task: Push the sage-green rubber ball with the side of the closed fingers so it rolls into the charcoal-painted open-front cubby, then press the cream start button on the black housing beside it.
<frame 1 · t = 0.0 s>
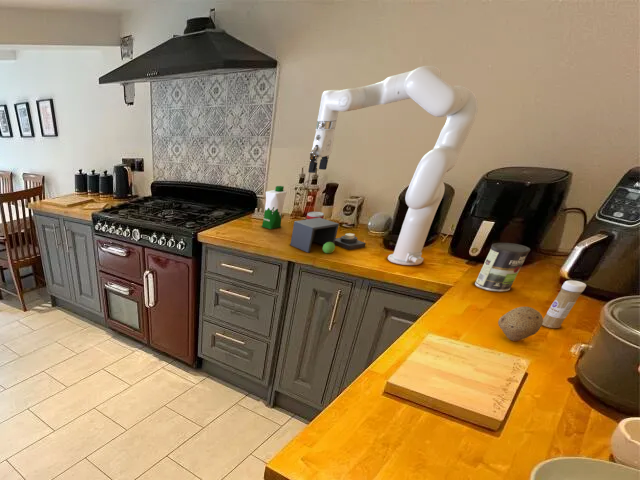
hand: (317, 170, 183), 31 cm above the counter, tool pointing down, fingers open, 9 cm apart
start button: (349, 236, 191), point 4 cm above the counter, slide at 0.1 cm
coffee can: (491, 286, 148), on the counter
button housing: (347, 245, 193), on the counter
potato: (510, 339, 118), on the counter
ball: (328, 247, 184), point 2 cm above the counter
milk carton: (270, 227, 225), on the counter
canned food: (311, 236, 207), on the counter
sprinkles bottle: (549, 326, 123), on the counter
cubby: (311, 246, 194), on the counter
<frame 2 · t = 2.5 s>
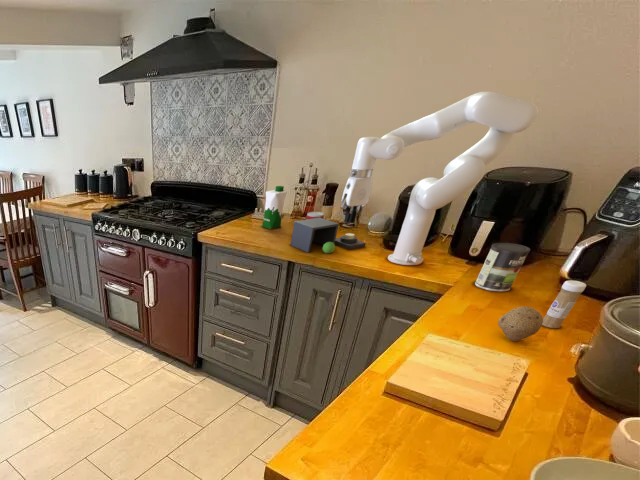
hand: (349, 222, 170), 15 cm above the counter, tool pointing down, fingers closed
nothing on the counter moved.
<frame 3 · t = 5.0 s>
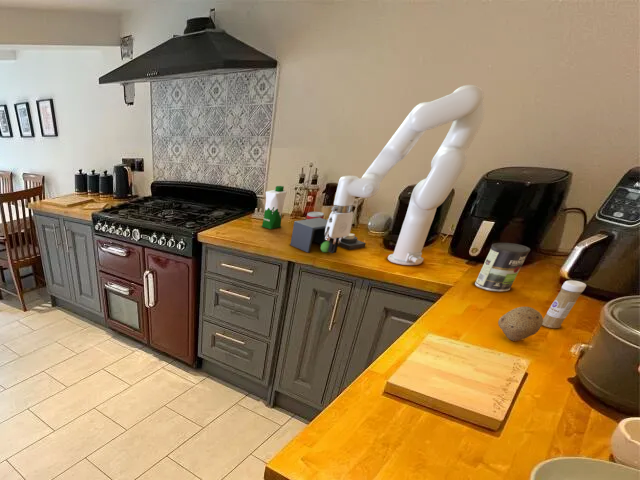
hand: (332, 252, 183), 1 cm above the counter, tool pointing down, fingers closed
ball: (326, 246, 185), point 2 cm above the counter, tilted 17°, touching gripper
everything else where it was.
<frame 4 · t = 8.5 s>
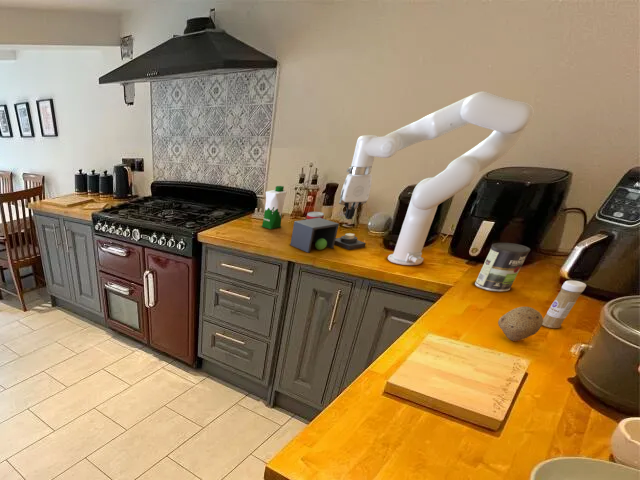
hand: (348, 218, 176), 15 cm above the counter, tool pointing down, fingers closed
ball: (320, 244, 189), point 2 cm above the counter, tilted 90°
everything else where it was.
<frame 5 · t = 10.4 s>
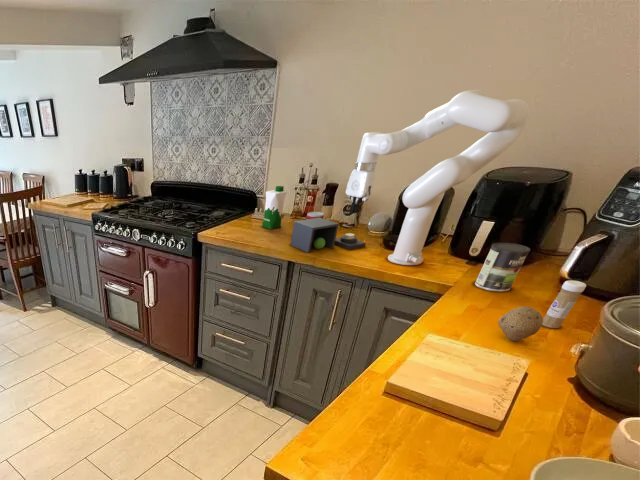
hand: (353, 212, 182), 15 cm above the counter, tool pointing down, fingers closed
ball: (319, 243, 190), point 2 cm above the counter, tilted 121°
everything else where it was.
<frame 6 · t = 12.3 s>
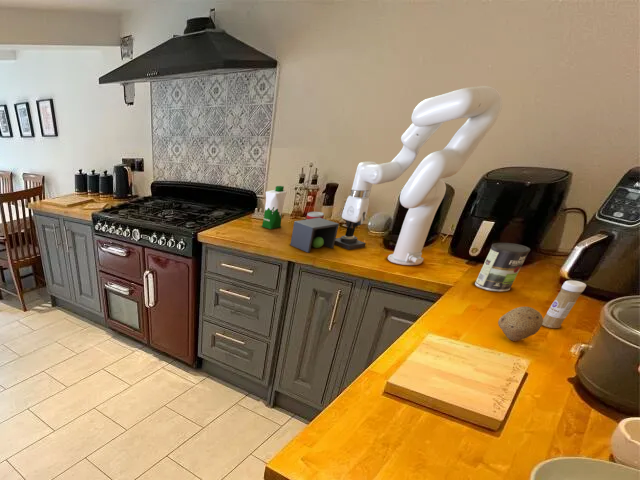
hand: (349, 235, 191), 4 cm above the counter, tool pointing down, fingers closed
start button: (349, 238, 191), point 3 cm above the counter, slide at -0.6 cm, touching gripper
ball: (317, 242, 191), point 2 cm above the counter, tilted 152°
everything else where it was.
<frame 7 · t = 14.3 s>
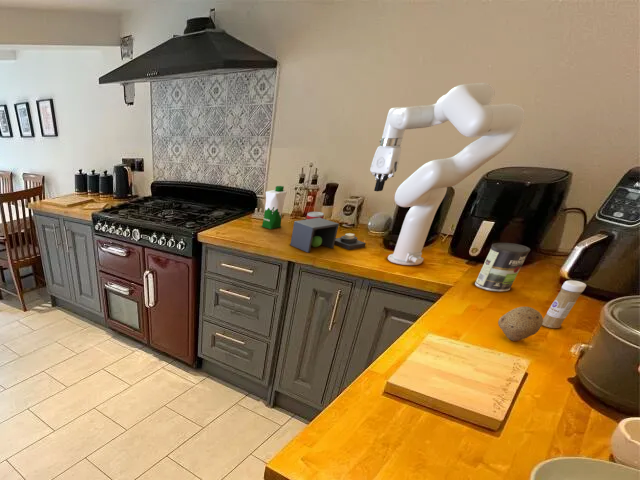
hand: (378, 190, 180), 23 cm above the counter, tool pointing down, fingers closed
start button: (349, 236, 191), point 4 cm above the counter, slide at 0.1 cm
ball: (316, 241, 192), point 2 cm above the counter, tilted 170°
everything else where it was.
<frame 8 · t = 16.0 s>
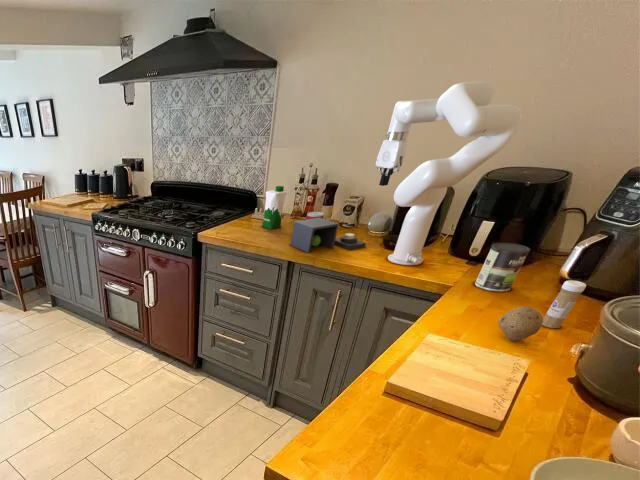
hand: (383, 185, 180), 25 cm above the counter, tool pointing down, fingers closed
ball: (314, 240, 193), point 2 cm above the counter, tilted 145°
everything else where it was.
at the end: ball inside the target area on the cubby (1.3 cm from its centre), point 2.5 cm above the cubby's base; start button pushed in 0.9 cm at the most during the clip, back to where it started at the end; start button slide at 0.1 cm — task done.
